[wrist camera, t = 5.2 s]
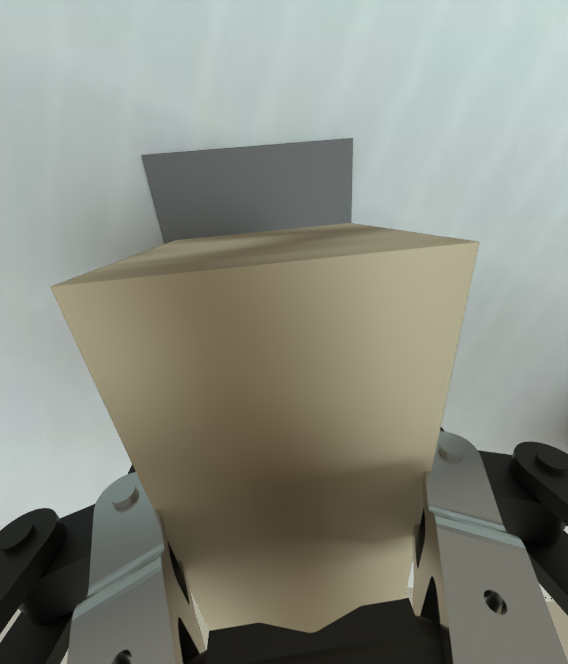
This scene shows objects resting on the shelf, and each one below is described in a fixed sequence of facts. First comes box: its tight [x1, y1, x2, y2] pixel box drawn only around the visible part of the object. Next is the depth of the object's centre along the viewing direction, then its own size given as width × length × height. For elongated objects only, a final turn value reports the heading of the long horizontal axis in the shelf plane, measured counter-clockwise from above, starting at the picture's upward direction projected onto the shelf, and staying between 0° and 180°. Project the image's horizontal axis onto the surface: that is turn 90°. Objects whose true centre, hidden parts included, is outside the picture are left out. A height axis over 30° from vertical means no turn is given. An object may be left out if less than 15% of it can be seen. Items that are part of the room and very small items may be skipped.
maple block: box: [51, 223, 479, 633], centre depth 9 cm, size 6×12×6 cm, turn 5°
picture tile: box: [142, 138, 353, 244], centre depth 21 cm, size 13×20×1 cm, turn 5°
